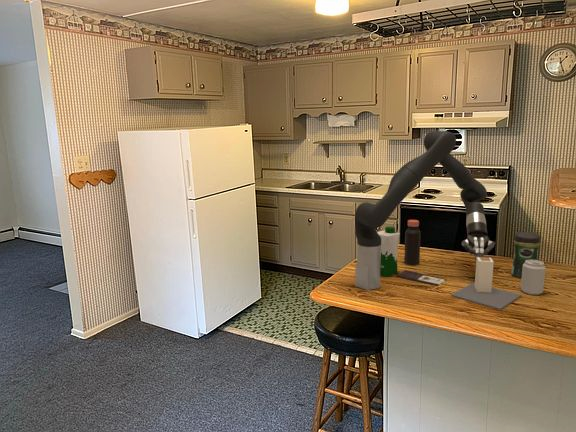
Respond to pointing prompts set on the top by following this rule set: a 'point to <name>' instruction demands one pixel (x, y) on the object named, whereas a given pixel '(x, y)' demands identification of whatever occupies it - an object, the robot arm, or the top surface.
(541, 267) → the can
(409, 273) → the chocolate bar
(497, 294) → the rubber mat
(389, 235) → the milk carton
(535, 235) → the coffee jar
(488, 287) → the cream block
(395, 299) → the top surface
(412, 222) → the bottle
